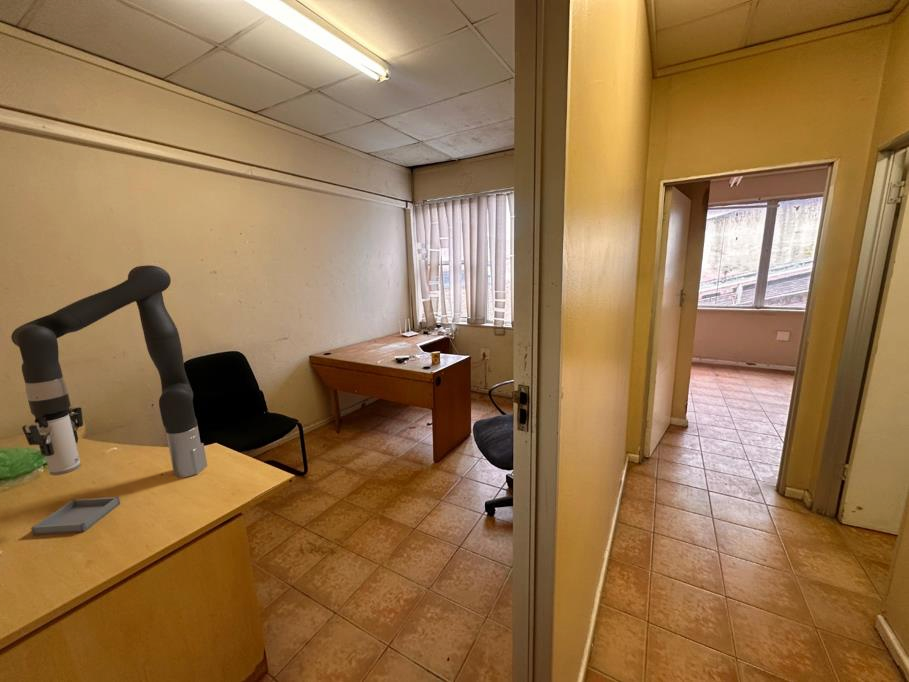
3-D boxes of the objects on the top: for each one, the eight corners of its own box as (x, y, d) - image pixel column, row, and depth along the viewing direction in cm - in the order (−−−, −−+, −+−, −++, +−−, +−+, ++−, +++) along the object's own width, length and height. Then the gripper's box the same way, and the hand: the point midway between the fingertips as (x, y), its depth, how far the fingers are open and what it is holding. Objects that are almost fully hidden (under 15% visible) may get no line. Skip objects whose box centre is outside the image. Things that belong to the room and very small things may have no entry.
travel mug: (87, 465, 106) (72, 403, 102) (57, 477, 100) (40, 411, 96) (75, 461, 108) (60, 400, 104) (45, 473, 102) (28, 408, 98)
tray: (120, 503, 113) (118, 496, 113) (84, 532, 101) (82, 524, 101) (75, 506, 112) (73, 499, 112) (33, 535, 100) (30, 527, 100)
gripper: (34, 404, 92) (49, 462, 96) (86, 386, 106) (97, 437, 110) (3, 404, 92) (19, 463, 95) (60, 386, 106) (72, 438, 109)
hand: (61, 449), depth 102 cm, fingers closed on travel mug, 6 cm apart
